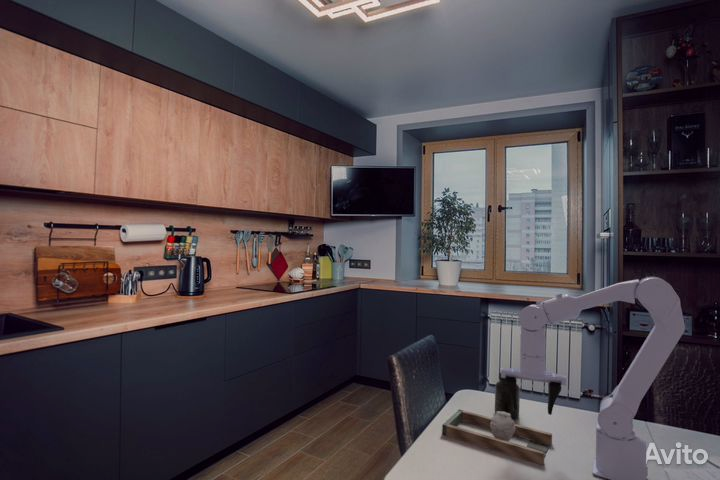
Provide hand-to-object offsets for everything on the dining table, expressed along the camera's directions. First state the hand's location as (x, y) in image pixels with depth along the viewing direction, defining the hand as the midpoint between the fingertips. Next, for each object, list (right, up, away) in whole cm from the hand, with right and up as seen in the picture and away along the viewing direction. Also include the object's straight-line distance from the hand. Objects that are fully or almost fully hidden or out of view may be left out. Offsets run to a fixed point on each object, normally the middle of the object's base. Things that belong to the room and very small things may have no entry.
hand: (532, 410), depth 97 cm
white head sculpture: (-6, -10, +4) cm, 12 cm away
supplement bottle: (+1, -10, +19) cm, 22 cm away
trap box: (-7, -9, +4) cm, 12 cm away
